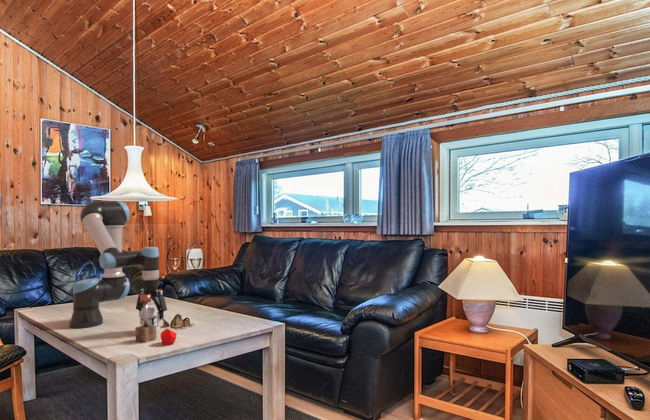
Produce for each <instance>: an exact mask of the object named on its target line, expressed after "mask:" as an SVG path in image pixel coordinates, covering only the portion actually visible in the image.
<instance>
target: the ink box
mask: <svg viewBox="0 0 650 420" xmlns="http://www.w3.org/2000/svg"><path fill="white" fill-rule="evenodd" d="M157 312H158V310H157V307H156V305H155V304H151V305H148V325H156V332H157V331H159V330H161V327H162V326H159V327H157ZM143 325H144V308H142V325H141V326H143Z"/></svg>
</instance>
